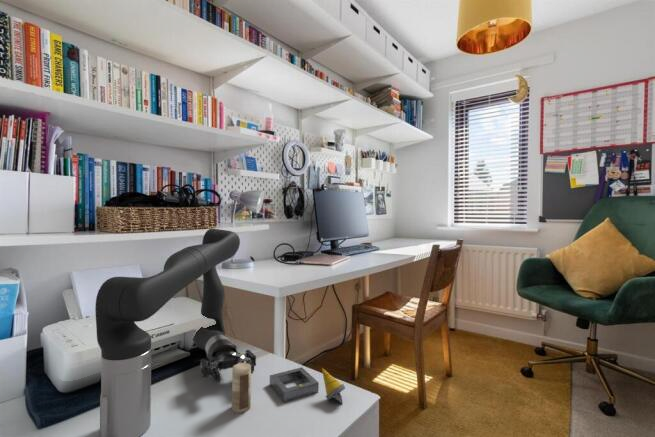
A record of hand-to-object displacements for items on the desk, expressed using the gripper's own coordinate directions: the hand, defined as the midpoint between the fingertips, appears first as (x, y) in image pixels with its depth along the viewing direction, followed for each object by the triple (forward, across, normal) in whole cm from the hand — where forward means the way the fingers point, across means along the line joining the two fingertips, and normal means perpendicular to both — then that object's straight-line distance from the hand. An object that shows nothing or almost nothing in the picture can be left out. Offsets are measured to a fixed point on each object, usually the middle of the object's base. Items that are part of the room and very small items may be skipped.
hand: (235, 374), depth 85 cm
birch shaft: (+5, 0, +6) cm, 8 cm away
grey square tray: (+3, +15, +6) cm, 16 cm away
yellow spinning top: (+13, +21, +6) cm, 26 cm away
